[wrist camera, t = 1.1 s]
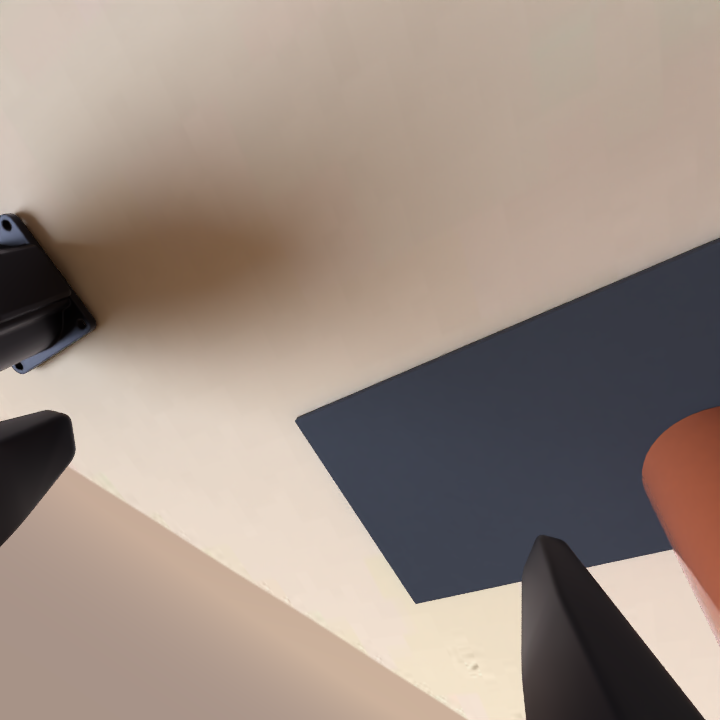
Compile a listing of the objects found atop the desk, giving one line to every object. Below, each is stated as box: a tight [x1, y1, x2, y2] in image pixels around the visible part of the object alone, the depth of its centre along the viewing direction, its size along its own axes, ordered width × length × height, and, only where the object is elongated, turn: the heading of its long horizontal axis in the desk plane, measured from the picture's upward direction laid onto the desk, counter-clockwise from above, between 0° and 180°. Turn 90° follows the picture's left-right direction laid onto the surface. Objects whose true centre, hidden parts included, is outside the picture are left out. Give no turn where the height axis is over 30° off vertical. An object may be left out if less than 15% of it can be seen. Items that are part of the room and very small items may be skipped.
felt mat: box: [295, 238, 720, 604], centre depth 22 cm, size 20×13×1 cm, turn 120°
